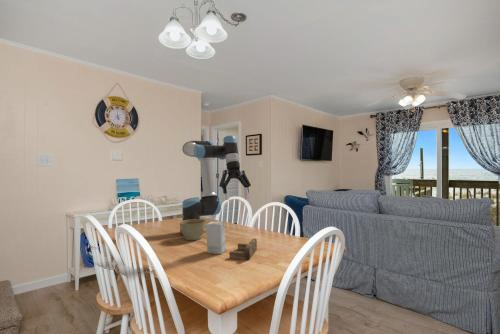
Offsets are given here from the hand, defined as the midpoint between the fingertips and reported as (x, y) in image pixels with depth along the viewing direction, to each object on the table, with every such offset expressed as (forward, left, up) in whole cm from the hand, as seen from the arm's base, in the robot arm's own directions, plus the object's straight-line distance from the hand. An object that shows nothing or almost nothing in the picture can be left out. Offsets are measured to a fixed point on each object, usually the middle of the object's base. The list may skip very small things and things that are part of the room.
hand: (237, 199), depth 152 cm
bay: (+9, +6, -27) cm, 29 cm away
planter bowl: (-13, -33, -27) cm, 45 cm away
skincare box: (+9, -9, -27) cm, 30 cm away
